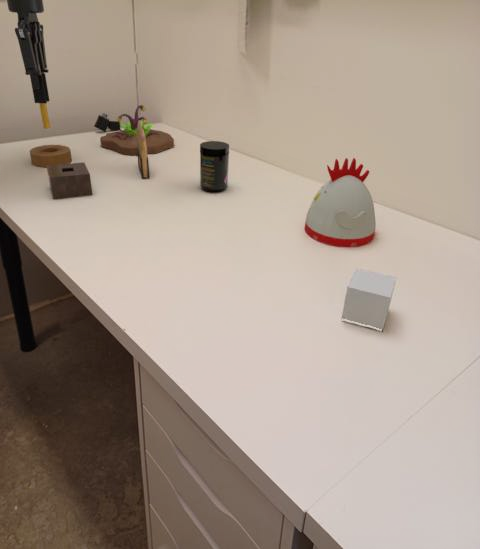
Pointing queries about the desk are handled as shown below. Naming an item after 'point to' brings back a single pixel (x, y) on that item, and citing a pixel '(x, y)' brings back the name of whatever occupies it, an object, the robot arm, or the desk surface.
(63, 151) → the tape roll
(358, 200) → the kitchen timer
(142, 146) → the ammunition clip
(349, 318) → the light grey cube
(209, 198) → the desk surface
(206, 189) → the supplement container
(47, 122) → the pencil
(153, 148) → the plant
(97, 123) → the lighter
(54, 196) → the block
